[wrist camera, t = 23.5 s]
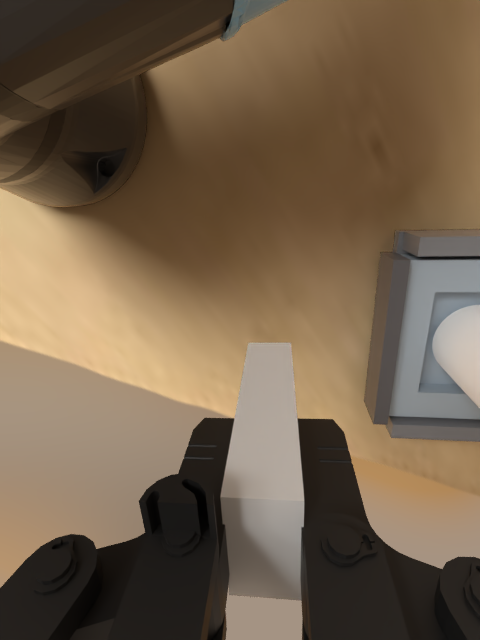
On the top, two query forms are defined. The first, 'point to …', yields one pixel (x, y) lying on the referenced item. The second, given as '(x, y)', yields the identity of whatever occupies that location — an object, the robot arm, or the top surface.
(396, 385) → the tray
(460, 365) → the can
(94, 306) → the top surface
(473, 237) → the tray
